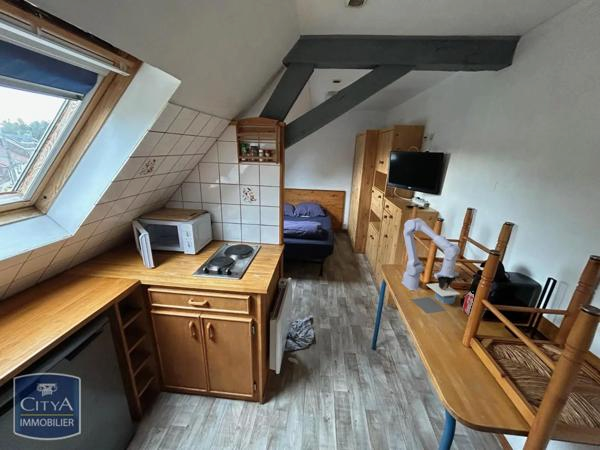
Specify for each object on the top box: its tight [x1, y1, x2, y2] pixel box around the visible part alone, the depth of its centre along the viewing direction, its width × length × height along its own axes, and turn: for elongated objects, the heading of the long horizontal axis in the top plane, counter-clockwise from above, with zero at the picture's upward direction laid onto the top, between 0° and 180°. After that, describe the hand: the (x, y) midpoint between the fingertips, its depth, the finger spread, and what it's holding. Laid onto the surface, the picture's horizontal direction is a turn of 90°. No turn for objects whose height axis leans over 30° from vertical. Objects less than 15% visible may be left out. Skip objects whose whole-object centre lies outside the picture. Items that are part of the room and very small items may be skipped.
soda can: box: [462, 290, 474, 317], centre depth 129 cm, size 7×7×12 cm
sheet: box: [426, 282, 461, 297], centre depth 139 cm, size 12×12×4 cm
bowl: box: [434, 291, 457, 305], centre depth 143 cm, size 10×10×4 cm
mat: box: [410, 296, 447, 314], centre depth 137 cm, size 13×13×1 cm
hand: (443, 287), depth 139 cm, fingers closed on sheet, 3 cm apart
